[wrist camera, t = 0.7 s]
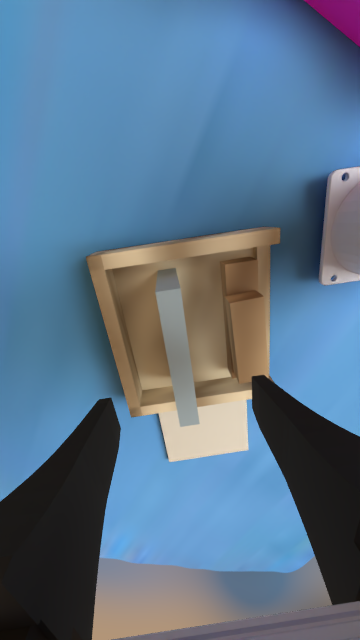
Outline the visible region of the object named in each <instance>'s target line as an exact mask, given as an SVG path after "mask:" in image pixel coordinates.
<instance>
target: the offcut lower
mask: <svg viewBox="0 0 360 640" xmlns="http://www.w3.org/2000/svg"><path fill="white" fill-rule="evenodd" d="M220 267H221V281H222V295H223V309H224V323H225V337H226V351H227V365H228V370H229V373H230V375H231V377H232V379H234V378H236V376H235V374H234V369H233V361H232V353H231V345H230V337H229V329H228V320H227V312H226V304H225V296H230V295H235V294H240V293H245V292H250V291H254V290H256V291H258V260H257V259H255V258H253V257H245V258H238V259H231V260H225V261H220Z"/></svg>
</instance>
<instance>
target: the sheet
mask: <svg viewBox="0 0 360 640" xmlns="http://www.w3.org/2000/svg"><path fill="white" fill-rule="evenodd" d="M155 293H156V299H157V304H158V310H159V315H160V321H161V326H162V331H163V337H164V342H165V348H166V353H167V358H168V364H169V369H170V375H171V380H172V386H173V391H174V396H175V402H176V407H177V413H178V418H179V424H180V427H184V426H190V425H197V424H200V423H199V416H198V409H197V402H196V394H195V387H194V380H193V373H192V366H191V359H190V352H189V345H188V338H187V331H186V323H185V316H184V309H183V302H182V295H181V288H180V284H179V280H178V276H177V272H176V268H172V269H165V270H158V272H157V281H156V290H155Z"/></svg>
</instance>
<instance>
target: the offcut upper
mask: <svg viewBox="0 0 360 640" xmlns="http://www.w3.org/2000/svg"><path fill="white" fill-rule="evenodd" d="M225 304H226V312H227V320H228V329H229V337H230V345H231V353H232V361H233V369H234V374H235V376H236V378H237V380H238V382H239V384H242V383H247V382H252V376H258V375H265V376H266V377H267V378H269V376H268V358H267V340H266V323H265V305H264V296H263V295H261V294H260V293H259V292H258V291H256V290H254V291H250V292H245V293H240V294H235V295H230V296H225Z"/></svg>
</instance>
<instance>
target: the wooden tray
mask: <svg viewBox="0 0 360 640" xmlns="http://www.w3.org/2000/svg"><path fill="white" fill-rule="evenodd" d="M273 244H280V228H276V227H258V228H251V229H245V230H238V231H231V232H225V233H218V234H211V235H205V236H198V237H191V238H185V239H178V240H171V241H165V242H158V243H151V244H145V245H138V246H131V247H125V248H118V249H111V250H105V251H98V252H95V253H93V254H91V255H89V256H87V257H86V260H87V264H88V267H89V271H90V274H91V278H92V281H93V285H94V288H95V292H96V295H97V299H98V302H99V306H100V309H101V313H102V316H103V320H104V323H105V327H106V330H107V334H108V337H109V341H110V344H111V348H112V351H113V355H114V358H115V362H116V365H117V369H118V372H119V376H120V379H121V383H122V386H123V390H124V394H125V397H126V401H127V404H128V408H129V411H130V415H131V417H137V416H143V415H150V414H156V413H163V412H169V411H176V410H177V407H176V402H175V396H174V391H173V386H172V380H171V375H170V369H169V364H168V358H167V353H166V348H165V342H164V337H163V331H162V326H161V321H160V315H159V310H158V304H157V299H156V293H155V290H156V281H157V272H158V270H165V269H172V268H176V272H177V276H178V280H179V284H180V288H181V295H182V302H183V309H184V316H185V323H186V331H187V338H188V345H189V352H190V359H191V366H192V373H193V380H194V387H195V394H196V402H197V407H202V406H208V405H215V404H221V403H228V402H234V401H241V400H247V399H252V382H247V383H242V384H239V382H238V380H237V378H234V379H232V377H231V375H230V373H229V370H228V365H227V351H226V337H225V323H224V309H223V295H222V281H221V267H220V261H225V260H231V259H238V258H245V257H253V258H255V259H257V260H258V292H259V293H260V294H261V295H263V296H264V305H265V323H266V340H267V358H268V376H269V379H270V380H271V381H272V382H274V381H273V380H272V378H271V377H270V375H269V341H270V245H273Z"/></svg>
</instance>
